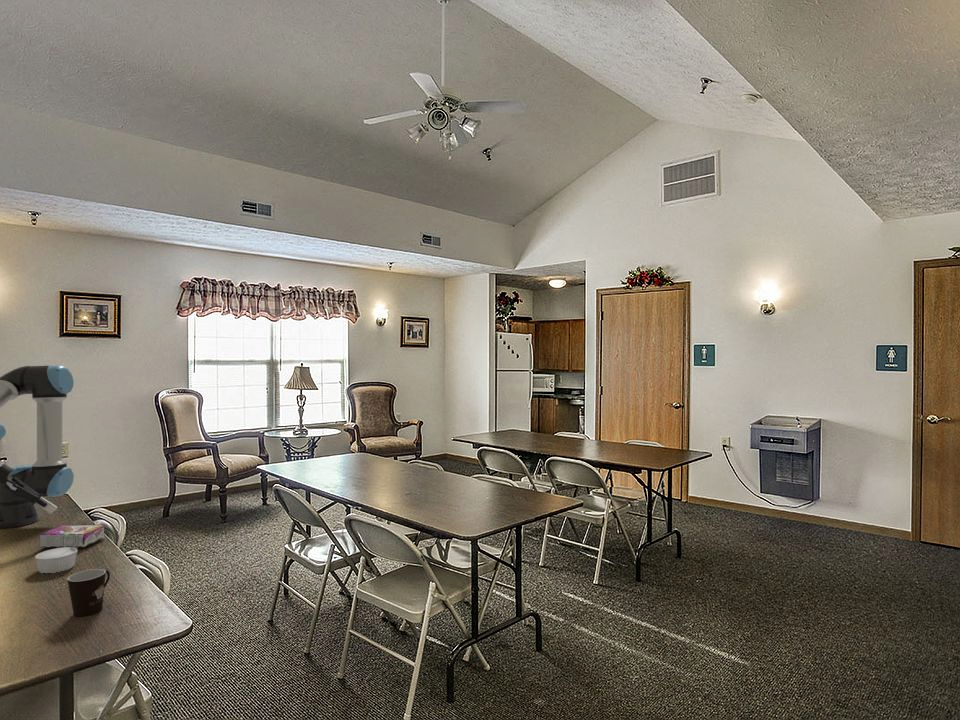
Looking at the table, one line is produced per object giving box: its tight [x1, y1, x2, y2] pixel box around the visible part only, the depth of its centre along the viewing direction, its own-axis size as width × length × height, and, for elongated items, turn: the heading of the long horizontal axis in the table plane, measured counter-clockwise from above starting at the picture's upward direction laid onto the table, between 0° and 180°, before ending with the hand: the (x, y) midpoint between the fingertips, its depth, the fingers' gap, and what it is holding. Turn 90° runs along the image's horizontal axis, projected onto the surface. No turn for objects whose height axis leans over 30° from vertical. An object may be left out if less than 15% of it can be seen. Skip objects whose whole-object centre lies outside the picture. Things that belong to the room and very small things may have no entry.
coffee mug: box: [66, 568, 111, 618], centre depth 160 cm, size 12×9×10 cm
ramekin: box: [34, 547, 78, 575], centre depth 191 cm, size 11×11×5 cm
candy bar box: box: [39, 524, 105, 548], centre depth 215 cm, size 11×5×16 cm
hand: (54, 510), depth 216 cm, fingers closed
